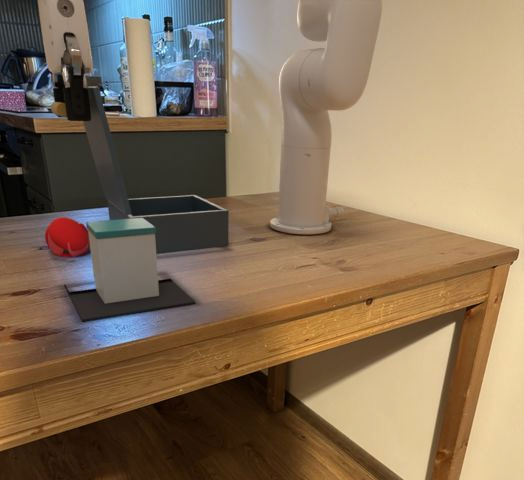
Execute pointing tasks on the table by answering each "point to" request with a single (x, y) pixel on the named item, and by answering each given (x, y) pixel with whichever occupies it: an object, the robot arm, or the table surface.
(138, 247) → the container
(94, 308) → the mat
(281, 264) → the table surface
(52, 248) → the cap
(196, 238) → the chest
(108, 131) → the lid
